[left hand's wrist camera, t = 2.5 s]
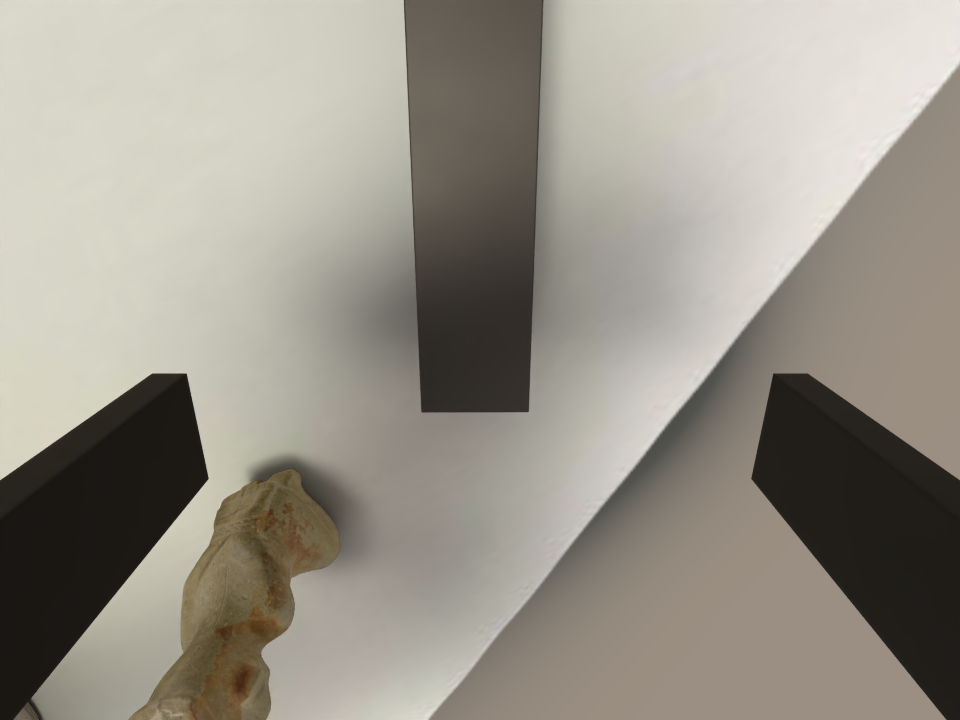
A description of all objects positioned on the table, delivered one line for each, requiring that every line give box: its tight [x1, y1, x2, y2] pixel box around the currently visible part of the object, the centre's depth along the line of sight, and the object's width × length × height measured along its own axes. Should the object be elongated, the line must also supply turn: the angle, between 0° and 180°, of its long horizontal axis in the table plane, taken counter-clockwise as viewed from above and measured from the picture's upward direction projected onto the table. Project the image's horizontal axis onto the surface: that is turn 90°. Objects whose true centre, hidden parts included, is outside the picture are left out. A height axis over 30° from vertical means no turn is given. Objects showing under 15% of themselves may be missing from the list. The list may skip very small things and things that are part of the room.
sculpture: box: [129, 469, 340, 720], centre depth 28 cm, size 6×7×15 cm
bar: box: [404, 0, 543, 412], centre depth 23 cm, size 24×5×8 cm, turn 0°
